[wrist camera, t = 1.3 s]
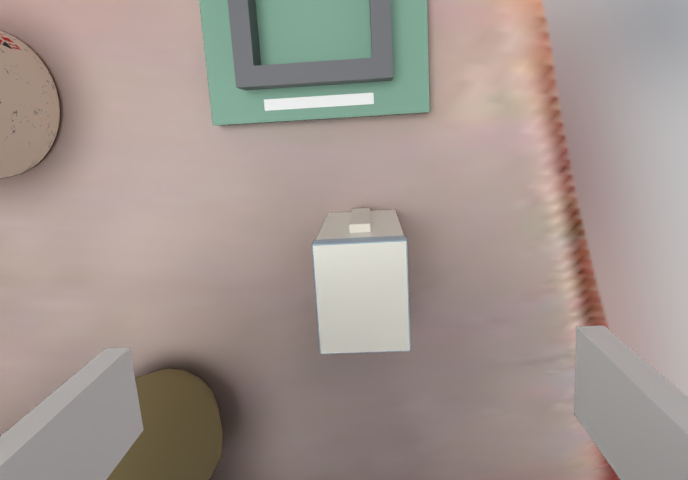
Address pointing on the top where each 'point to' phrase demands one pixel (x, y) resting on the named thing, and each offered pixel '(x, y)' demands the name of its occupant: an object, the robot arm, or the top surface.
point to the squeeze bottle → (174, 430)
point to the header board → (315, 59)
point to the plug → (362, 283)
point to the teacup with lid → (24, 107)
